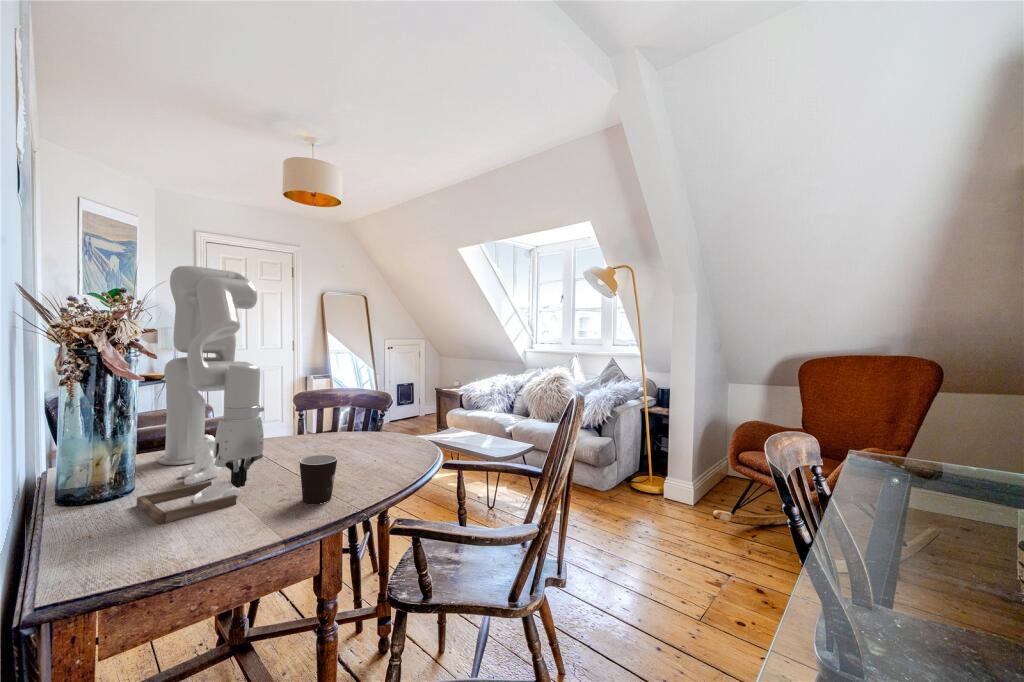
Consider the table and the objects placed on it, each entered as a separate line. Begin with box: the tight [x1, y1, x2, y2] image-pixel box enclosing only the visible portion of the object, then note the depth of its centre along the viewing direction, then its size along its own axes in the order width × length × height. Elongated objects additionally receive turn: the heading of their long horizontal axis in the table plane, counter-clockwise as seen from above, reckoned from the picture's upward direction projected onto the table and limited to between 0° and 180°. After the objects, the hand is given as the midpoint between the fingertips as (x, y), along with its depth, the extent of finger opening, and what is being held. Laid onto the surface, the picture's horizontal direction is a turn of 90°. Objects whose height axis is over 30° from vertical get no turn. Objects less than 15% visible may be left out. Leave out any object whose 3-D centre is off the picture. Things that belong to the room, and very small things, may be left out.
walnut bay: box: [136, 481, 238, 525], centre depth 99 cm, size 15×14×2 cm
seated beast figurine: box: [180, 433, 223, 486], centre depth 117 cm, size 10×9×12 cm
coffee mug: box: [298, 454, 339, 505], centre depth 107 cm, size 12×9×10 cm
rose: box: [192, 480, 242, 505], centre depth 104 cm, size 10×4×10 cm
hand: (238, 485), depth 108 cm, fingers closed
